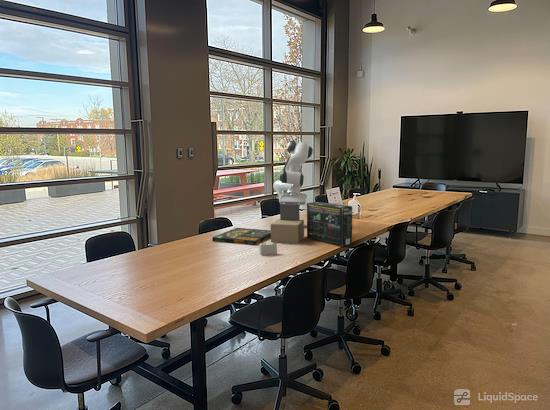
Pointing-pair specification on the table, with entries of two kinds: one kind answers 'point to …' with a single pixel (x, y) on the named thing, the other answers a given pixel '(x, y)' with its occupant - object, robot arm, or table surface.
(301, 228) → the carton
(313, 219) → the router box
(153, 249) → the table surface
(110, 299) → the table surface
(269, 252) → the model
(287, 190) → the robot arm
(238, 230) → the pizza box
